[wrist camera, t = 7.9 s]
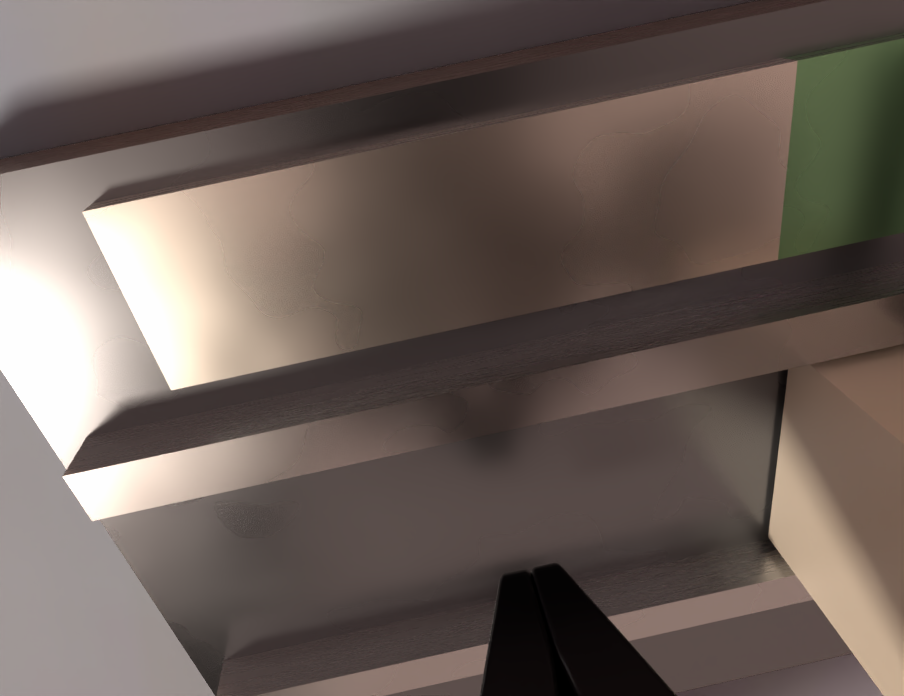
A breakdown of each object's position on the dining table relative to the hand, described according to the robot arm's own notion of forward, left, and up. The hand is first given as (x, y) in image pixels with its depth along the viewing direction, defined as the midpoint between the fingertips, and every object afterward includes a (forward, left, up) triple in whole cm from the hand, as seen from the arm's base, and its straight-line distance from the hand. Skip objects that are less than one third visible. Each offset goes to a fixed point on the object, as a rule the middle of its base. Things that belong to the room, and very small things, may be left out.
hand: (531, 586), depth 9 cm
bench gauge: (+4, 0, -3) cm, 4 cm away
